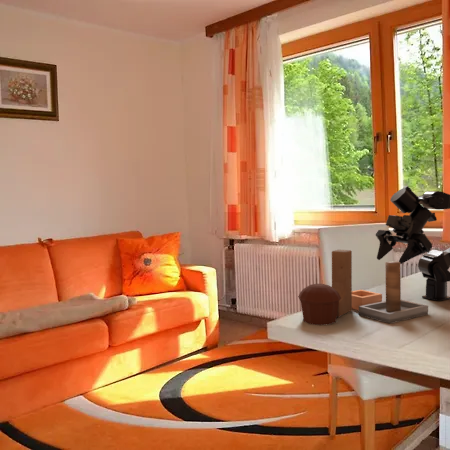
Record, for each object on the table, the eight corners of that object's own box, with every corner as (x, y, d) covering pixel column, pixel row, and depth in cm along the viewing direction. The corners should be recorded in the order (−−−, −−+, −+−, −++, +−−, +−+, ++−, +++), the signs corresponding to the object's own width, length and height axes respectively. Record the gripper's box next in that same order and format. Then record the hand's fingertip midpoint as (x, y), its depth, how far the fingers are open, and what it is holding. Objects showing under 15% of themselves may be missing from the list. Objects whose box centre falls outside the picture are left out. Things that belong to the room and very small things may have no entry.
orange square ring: (360, 302, 161) (361, 289, 161) (381, 307, 154) (381, 294, 154) (341, 305, 157) (341, 293, 157) (362, 311, 150) (362, 297, 149)
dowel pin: (388, 308, 148) (387, 260, 147) (402, 310, 146) (402, 261, 145) (384, 311, 145) (383, 263, 144) (398, 313, 143) (398, 263, 141)
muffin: (290, 321, 140) (290, 285, 139) (311, 313, 149) (310, 279, 148) (329, 328, 133) (329, 290, 132) (348, 319, 141) (348, 284, 140)
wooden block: (339, 317, 144) (338, 253, 142) (324, 315, 146) (324, 252, 145) (352, 310, 151) (352, 250, 149) (338, 308, 153) (337, 249, 152)
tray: (396, 306, 154) (396, 298, 154) (428, 314, 145) (428, 305, 145) (358, 314, 146) (358, 306, 146) (389, 323, 136) (389, 314, 136)
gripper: (379, 204, 166) (353, 241, 162) (425, 206, 149) (397, 247, 145) (397, 227, 170) (372, 263, 166) (444, 231, 153) (417, 271, 149)
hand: (388, 261), depth 156 cm, fingers open, 9 cm apart
